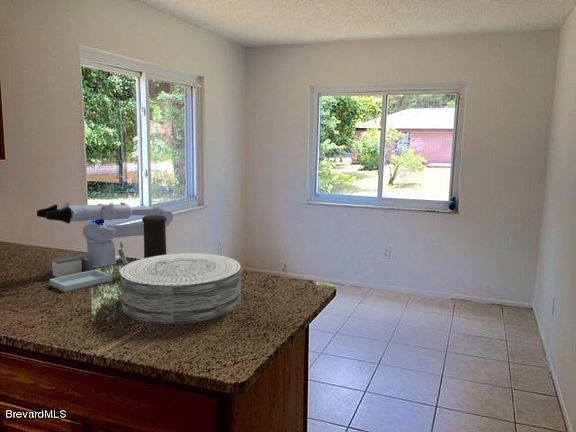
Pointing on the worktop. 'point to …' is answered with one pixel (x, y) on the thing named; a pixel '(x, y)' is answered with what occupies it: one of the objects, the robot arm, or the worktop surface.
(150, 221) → the container
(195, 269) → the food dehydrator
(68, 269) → the block
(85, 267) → the bay
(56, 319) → the worktop surface
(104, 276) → the tray
